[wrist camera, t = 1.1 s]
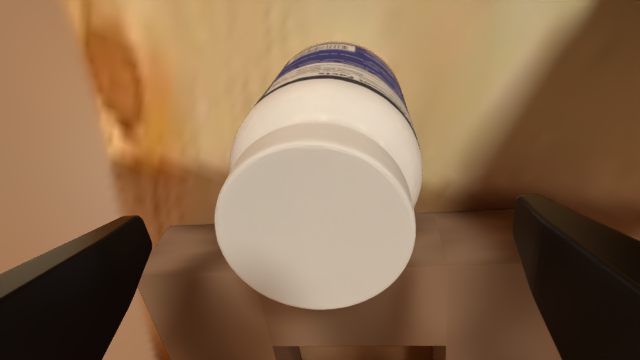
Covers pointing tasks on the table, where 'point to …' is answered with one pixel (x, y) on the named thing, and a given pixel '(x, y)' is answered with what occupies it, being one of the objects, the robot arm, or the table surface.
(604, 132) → the table surface
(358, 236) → the pill bottle
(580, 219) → the robot arm
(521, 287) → the well block
